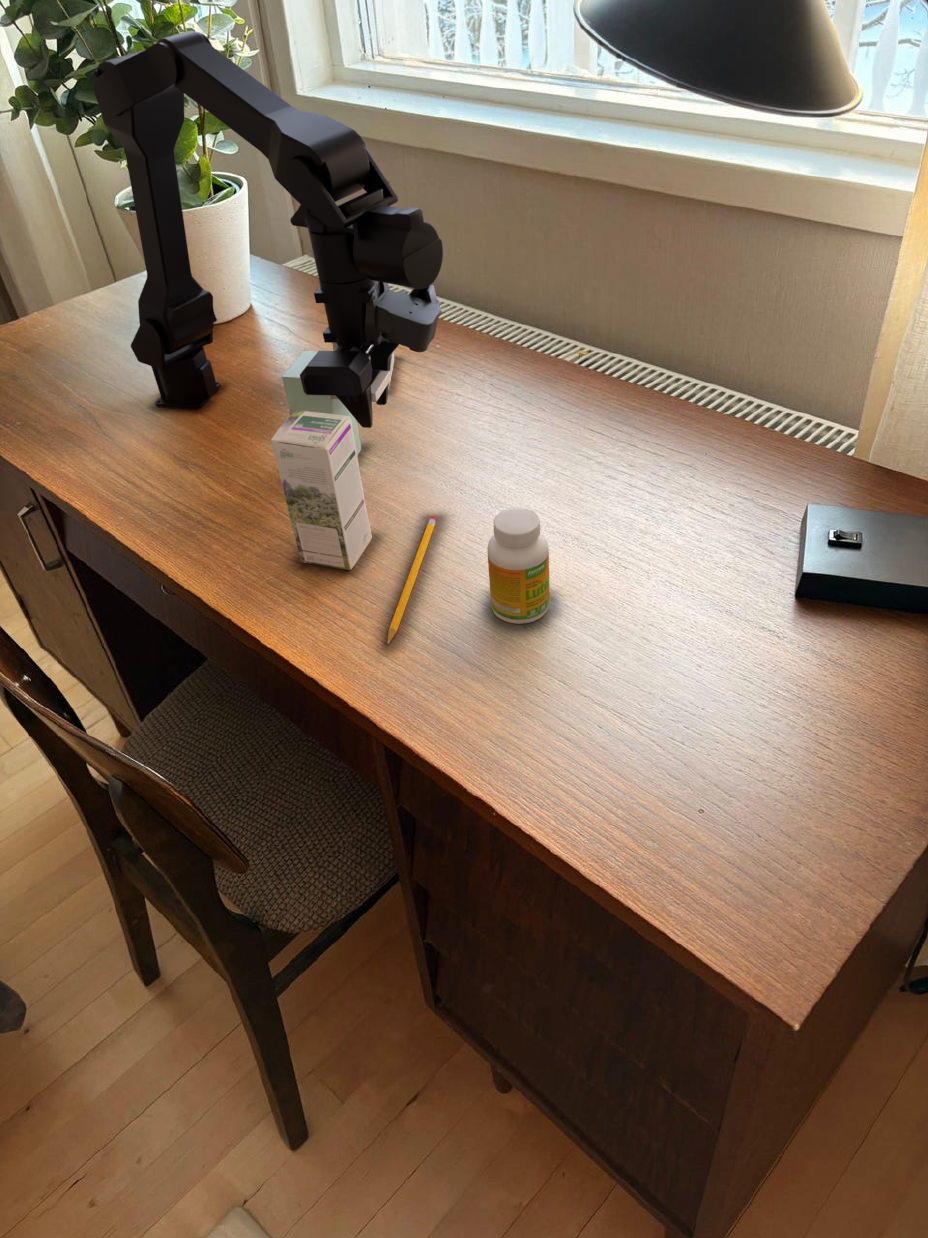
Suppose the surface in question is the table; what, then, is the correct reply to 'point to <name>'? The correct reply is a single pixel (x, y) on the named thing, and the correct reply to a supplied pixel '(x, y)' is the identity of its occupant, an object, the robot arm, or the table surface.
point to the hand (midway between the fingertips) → (374, 415)
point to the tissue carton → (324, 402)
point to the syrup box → (323, 488)
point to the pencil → (411, 579)
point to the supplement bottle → (518, 567)
